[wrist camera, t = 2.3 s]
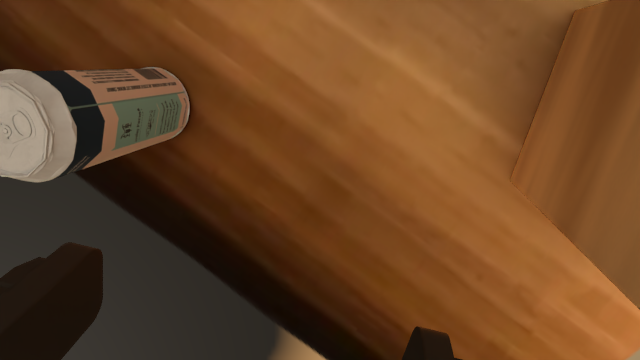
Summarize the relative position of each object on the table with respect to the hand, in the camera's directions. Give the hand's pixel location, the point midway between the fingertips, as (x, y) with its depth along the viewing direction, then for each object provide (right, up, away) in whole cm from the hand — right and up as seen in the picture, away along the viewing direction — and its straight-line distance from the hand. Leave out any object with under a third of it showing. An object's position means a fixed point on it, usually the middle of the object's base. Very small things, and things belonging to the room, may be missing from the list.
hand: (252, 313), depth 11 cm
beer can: (-9, +8, +18) cm, 22 cm away
